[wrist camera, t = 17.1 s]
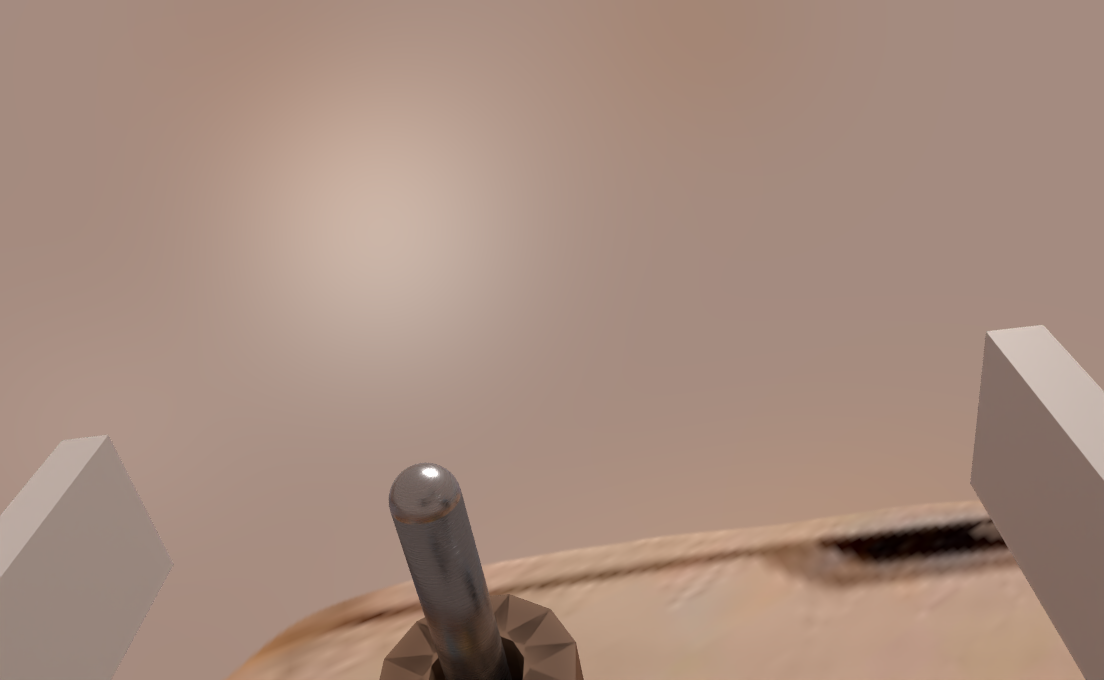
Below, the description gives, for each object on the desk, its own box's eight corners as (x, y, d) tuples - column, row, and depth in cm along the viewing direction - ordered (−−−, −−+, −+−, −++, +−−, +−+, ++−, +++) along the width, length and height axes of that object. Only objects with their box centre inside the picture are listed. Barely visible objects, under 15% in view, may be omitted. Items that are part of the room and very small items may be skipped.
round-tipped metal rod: (530, 722, 47) (457, 444, 37) (528, 775, 44) (448, 492, 35) (474, 727, 47) (387, 452, 38) (469, 780, 44) (374, 499, 35)
